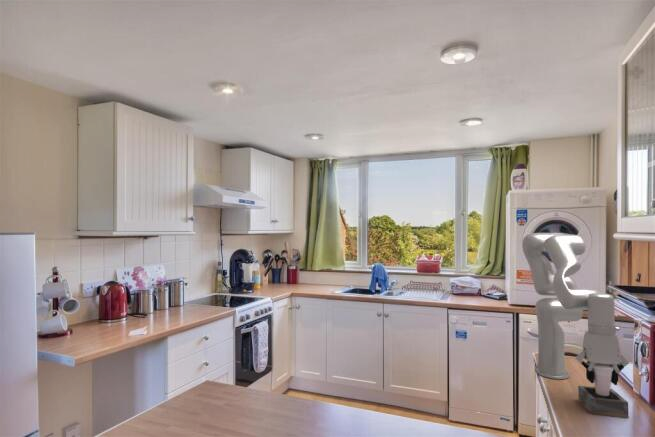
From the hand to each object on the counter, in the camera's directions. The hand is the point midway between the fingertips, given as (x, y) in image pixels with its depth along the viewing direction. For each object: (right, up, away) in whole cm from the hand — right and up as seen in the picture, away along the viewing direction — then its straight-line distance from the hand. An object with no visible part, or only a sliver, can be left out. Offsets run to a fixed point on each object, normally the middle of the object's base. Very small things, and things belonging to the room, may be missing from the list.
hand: (602, 382), depth 129 cm
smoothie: (0, -4, 0) cm, 4 cm away
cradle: (0, -9, 0) cm, 9 cm away
